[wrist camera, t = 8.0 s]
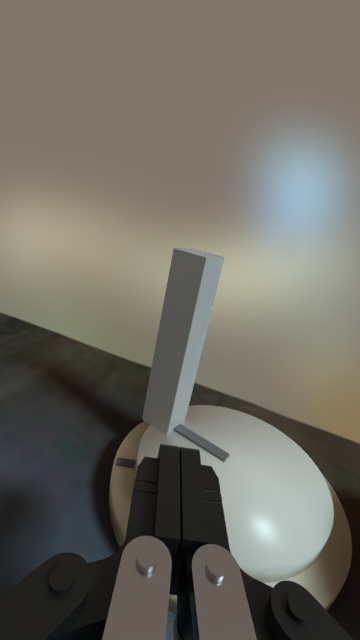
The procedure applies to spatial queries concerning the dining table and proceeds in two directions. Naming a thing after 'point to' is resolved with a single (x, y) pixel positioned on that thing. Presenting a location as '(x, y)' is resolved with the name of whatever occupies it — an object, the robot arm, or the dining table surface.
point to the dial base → (317, 579)
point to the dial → (232, 439)
